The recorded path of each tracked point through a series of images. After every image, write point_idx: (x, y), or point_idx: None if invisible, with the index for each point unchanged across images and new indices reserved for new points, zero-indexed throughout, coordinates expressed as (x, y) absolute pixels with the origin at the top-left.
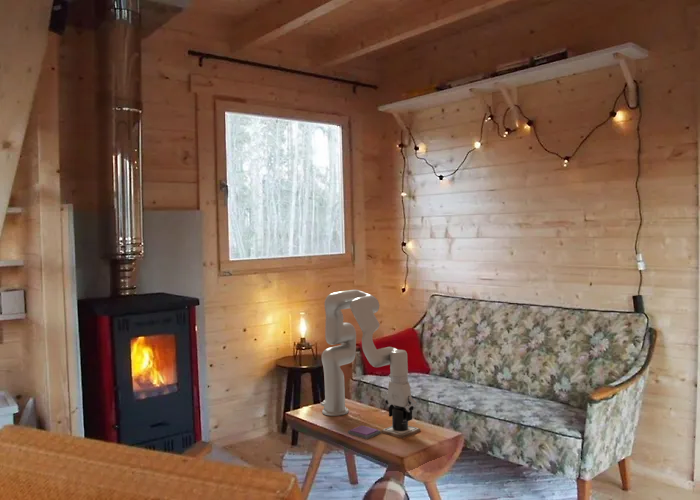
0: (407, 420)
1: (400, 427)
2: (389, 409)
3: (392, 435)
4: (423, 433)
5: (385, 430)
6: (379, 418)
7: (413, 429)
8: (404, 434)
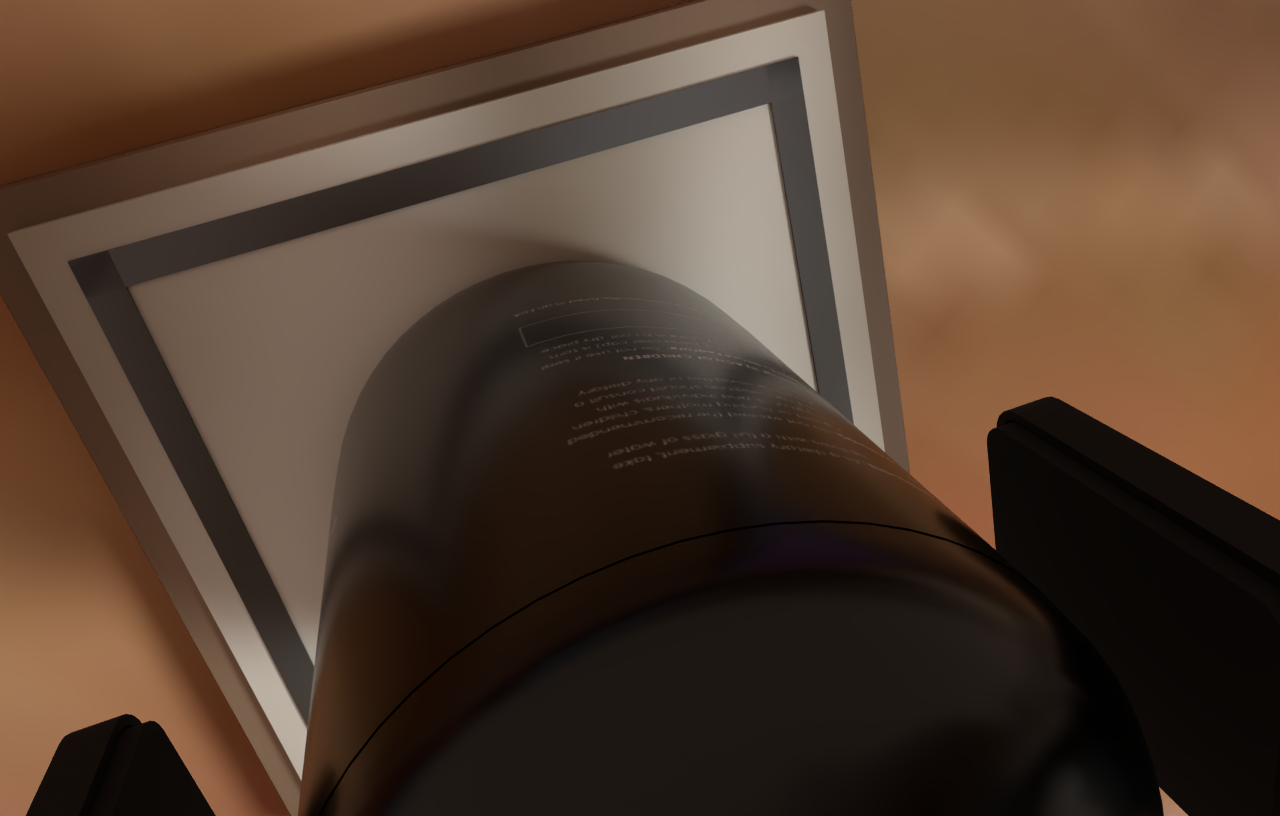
0: (60, 742)
1: (366, 405)
2: (1246, 547)
3: (408, 78)
4: None
5: (723, 35)
6: None
7: None
8: (54, 319)
